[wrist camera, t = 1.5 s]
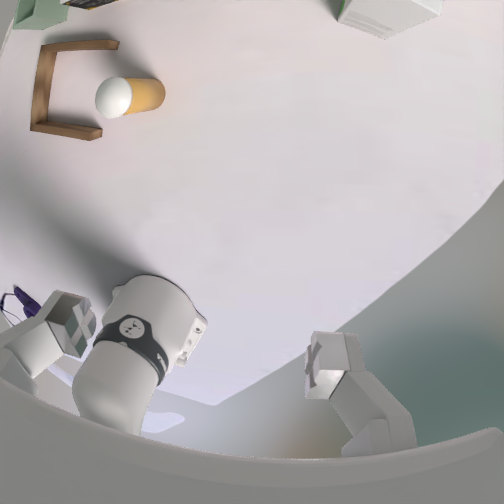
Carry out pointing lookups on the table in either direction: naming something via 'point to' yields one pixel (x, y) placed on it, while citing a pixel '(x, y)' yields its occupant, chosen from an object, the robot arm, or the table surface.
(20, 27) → the tub
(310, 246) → the table surface
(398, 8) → the skincare box
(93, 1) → the medicine bottle
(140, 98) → the canister
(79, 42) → the bay
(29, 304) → the lever
